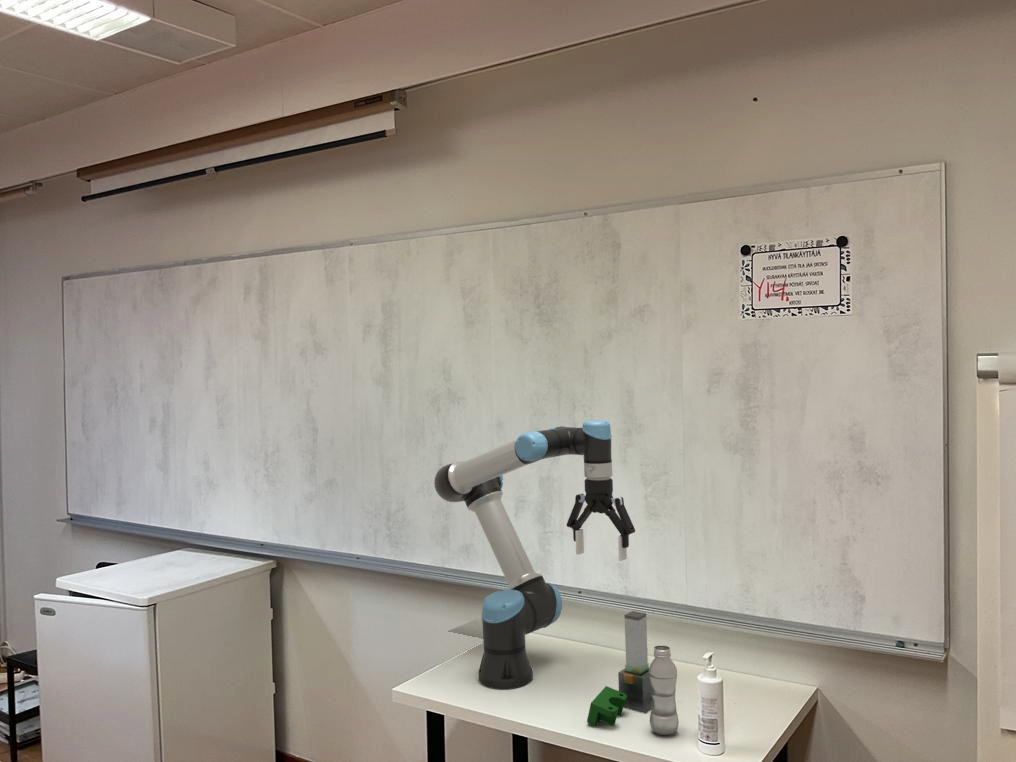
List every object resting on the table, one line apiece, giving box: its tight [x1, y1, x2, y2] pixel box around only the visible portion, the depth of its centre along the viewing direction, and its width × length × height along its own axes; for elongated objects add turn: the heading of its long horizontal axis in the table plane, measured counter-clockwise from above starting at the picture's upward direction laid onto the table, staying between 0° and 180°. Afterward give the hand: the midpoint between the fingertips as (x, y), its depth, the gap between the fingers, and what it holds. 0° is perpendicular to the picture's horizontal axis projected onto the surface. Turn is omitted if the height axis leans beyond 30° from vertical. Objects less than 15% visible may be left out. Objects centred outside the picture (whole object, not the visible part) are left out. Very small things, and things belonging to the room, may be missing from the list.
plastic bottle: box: [649, 644, 680, 736], centre depth 193 cm, size 6×7×20 cm
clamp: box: [586, 685, 627, 727], centre depth 202 cm, size 12×6×9 cm, turn 149°
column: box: [624, 610, 650, 676], centre depth 211 cm, size 4×4×15 cm
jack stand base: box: [617, 668, 652, 714], centre depth 211 cm, size 10×10×8 cm
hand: (601, 556), depth 222 cm, fingers open, 13 cm apart
